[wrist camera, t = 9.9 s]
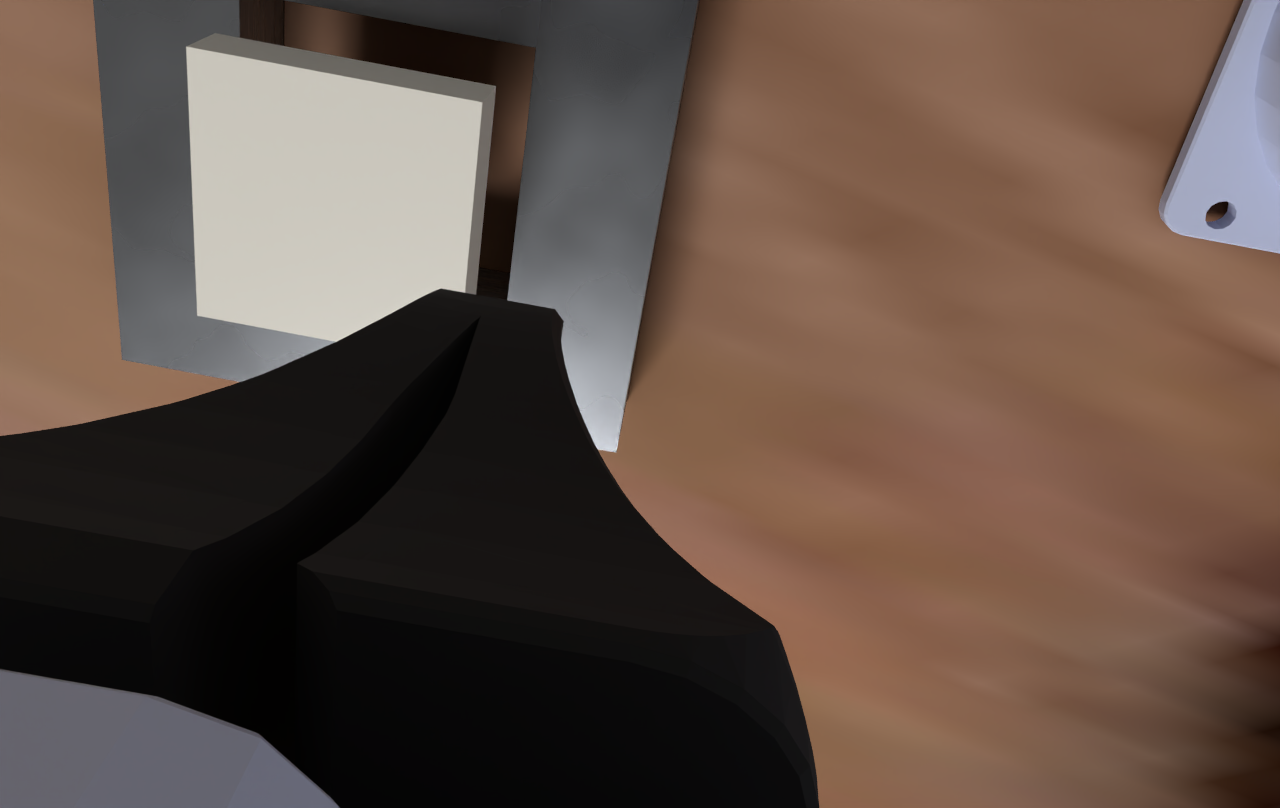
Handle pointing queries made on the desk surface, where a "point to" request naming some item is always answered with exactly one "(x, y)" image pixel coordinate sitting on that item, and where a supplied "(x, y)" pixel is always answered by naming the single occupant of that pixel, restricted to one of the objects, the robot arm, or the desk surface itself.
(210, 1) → the panel
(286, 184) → the off-white block
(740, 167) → the desk surface
